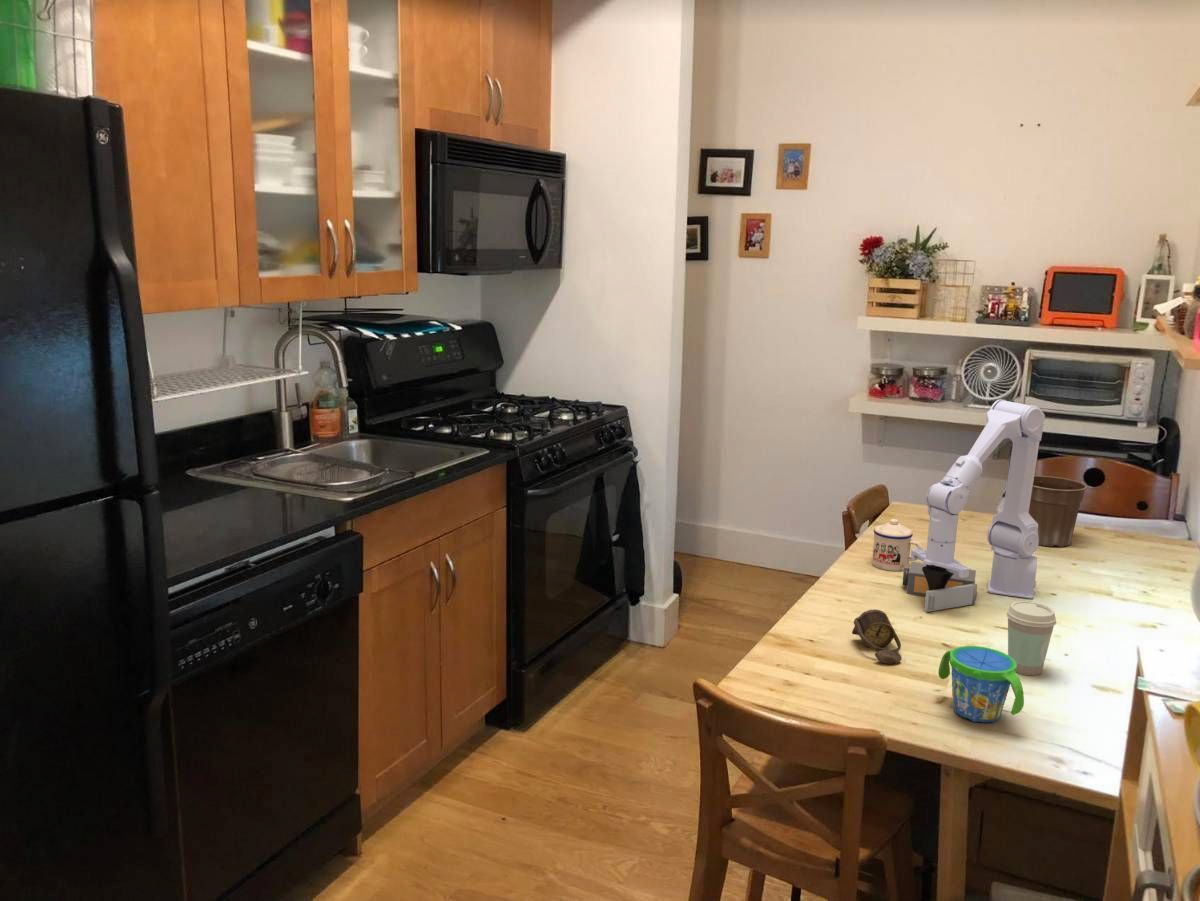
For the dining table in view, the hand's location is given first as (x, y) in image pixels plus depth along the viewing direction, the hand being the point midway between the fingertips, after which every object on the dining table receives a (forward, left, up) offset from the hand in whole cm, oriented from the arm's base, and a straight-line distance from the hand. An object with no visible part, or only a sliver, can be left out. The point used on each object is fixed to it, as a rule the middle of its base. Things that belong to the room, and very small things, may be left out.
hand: (935, 598), depth 215 cm
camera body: (-1, -10, -2) cm, 10 cm away
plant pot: (-25, -64, -2) cm, 69 cm away
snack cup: (-10, +49, -2) cm, 50 cm away
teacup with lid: (+10, -24, -2) cm, 26 cm away
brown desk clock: (+9, +29, -2) cm, 31 cm away
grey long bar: (-3, -1, -2) cm, 4 cm away
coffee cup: (-18, +26, -2) cm, 31 cm away
